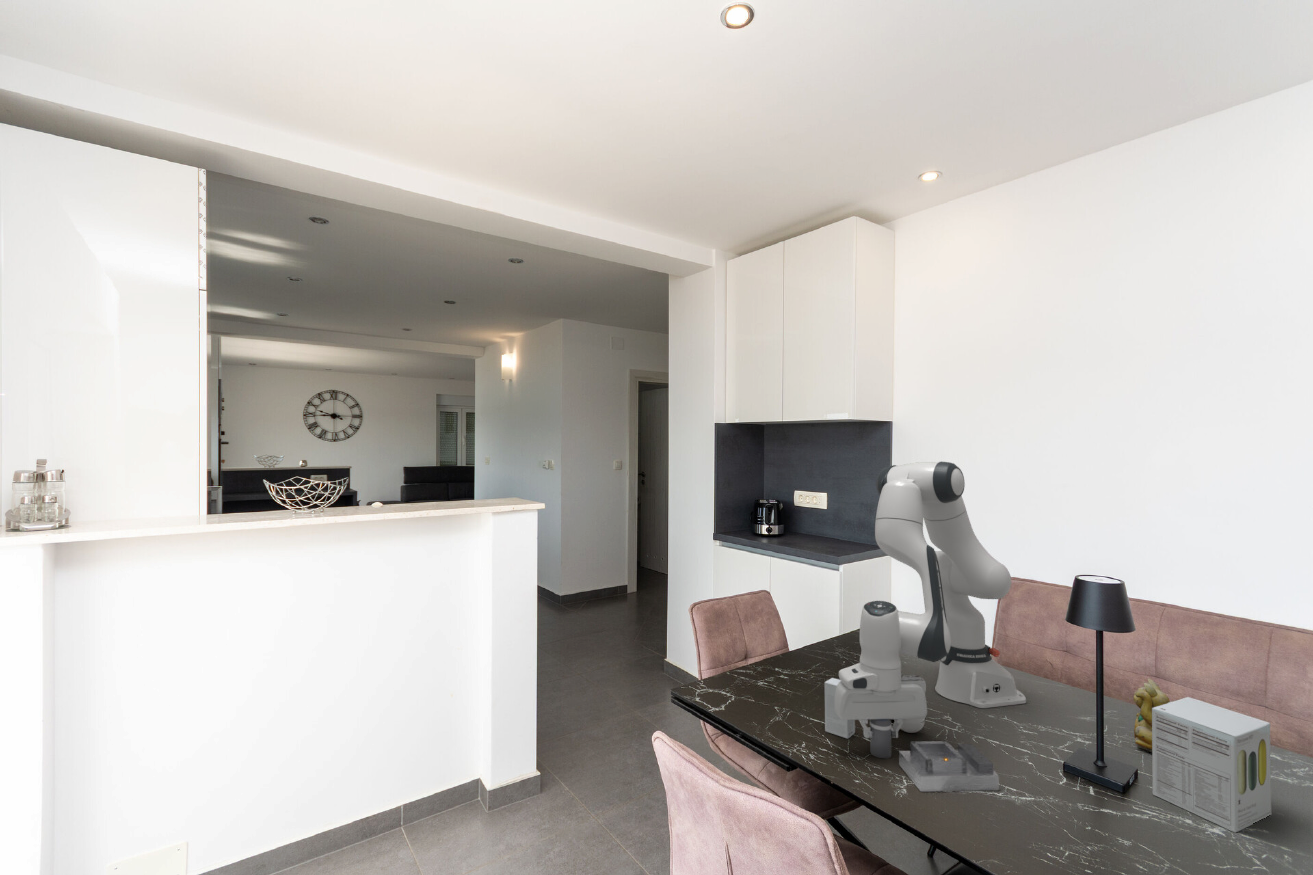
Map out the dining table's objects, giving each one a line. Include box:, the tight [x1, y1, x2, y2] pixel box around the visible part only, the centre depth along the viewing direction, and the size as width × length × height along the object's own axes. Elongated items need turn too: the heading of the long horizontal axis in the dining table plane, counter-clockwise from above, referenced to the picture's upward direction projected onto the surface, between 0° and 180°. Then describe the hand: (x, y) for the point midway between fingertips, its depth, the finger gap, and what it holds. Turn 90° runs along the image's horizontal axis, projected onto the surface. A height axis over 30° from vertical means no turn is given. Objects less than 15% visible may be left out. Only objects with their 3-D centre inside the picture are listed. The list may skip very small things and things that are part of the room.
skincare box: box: [824, 677, 856, 739], centre depth 144 cm, size 6×4×12 cm
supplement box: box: [1151, 696, 1272, 834], centre depth 115 cm, size 13×13×18 cm
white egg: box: [893, 717, 927, 734], centre depth 146 cm, size 10×7×7 cm
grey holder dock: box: [898, 740, 1000, 793], centre depth 125 cm, size 16×10×6 cm, turn 91°
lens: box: [869, 719, 893, 759], centre depth 134 cm, size 5×5×8 cm
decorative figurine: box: [1133, 678, 1171, 753], centre depth 136 cm, size 10×8×15 cm
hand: (880, 736), depth 134 cm, fingers closed on lens, 4 cm apart
